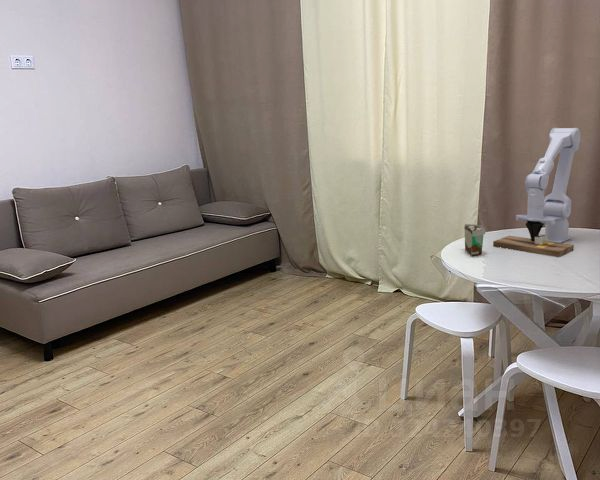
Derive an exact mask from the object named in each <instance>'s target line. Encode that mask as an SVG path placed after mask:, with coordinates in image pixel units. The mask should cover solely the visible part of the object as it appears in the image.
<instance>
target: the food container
mask: <svg viewBox="0 0 600 480" xmlns="http://www.w3.org/2000/svg"><path fill="white" fill-rule="evenodd" d="M463 227H464V251H465V252H466V253H467V254H468V255H469V256H470V257H479V256H481V255H482V253H483V252H482V251H483V242H484V235H486V229H485V227H484V226H483V225H479V224H473V223H472V224H471V223H469V224H468V223H467V224H464V226H463Z"/></svg>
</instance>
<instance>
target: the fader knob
mask: <svg viewBox="0 0 600 480" xmlns="http://www.w3.org/2000/svg"><path fill="white" fill-rule="evenodd" d="M546 243H548V235H545V234H540V233H539V235H538V236H535V244H539V245H544V244H546Z"/></svg>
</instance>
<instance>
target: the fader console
mask: <svg viewBox="0 0 600 480" xmlns="http://www.w3.org/2000/svg"><path fill="white" fill-rule="evenodd" d="M492 247H493V248H500V247H501V248H502V249H506V248H508V249H507V250H512V249H513V250H514V251H518V250H519V252H524V251H525V252H526V253H532V254H538V255H542V256H543V255H544V256H550V257H555V258H559V257H562V256H564V255H566V254H568V253H570V252H573V251H574V247H575V246H574V244H571V243H564V242H561V243H557V242H550V241H548V243H546V244H544V245H539V244H535V242H534V241H531V237H530V238H529V237H524V236H523V237H521V236H515V235H507V236H504V237H501V238H498V239H496V240H494V241H493V243H492ZM501 248H500V249H501ZM525 252H524V253H525Z"/></svg>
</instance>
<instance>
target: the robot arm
mask: <svg viewBox="0 0 600 480" xmlns="http://www.w3.org/2000/svg"><path fill="white" fill-rule="evenodd" d="M549 132H550V133H549V134H548V135H549V136H548V140H549V144H548V147H547V149H546V151H545V154H544V157H541V158H539V160H538V161H537V163H536V165H535V167H534V168H533V171H532V173H530V174H527V176H526V177H525V181H524V184H525V185H524V186H525V188H526V189H525V190H526V191H525V192H526V194H527V208H526V209H527V210H526V211H527V213H526V214H516V215H515V221H517V222H518V221H522V222H525V227H526V228H527V230H528V233H529V235H530V236H529V237H530V239H531V241H534V242H535V236H538V235H540V233H541V230H542V229H543V227H545V228H544V235H548V241H550V242H557V243H564V242H567V241H568V240H570V239H571V237H569V229H570V228H569V226H570V225H569V220H568V218H569V217H570V215H571V213H572V199H571V198H570V197H569V196H568V195H567V194H566V193H567V189H568V185H569V179H570V175H571V169H572V166H573V165H572V164H573V160H574V156H575V153H576V152H577V151H578V150H579V147H580V143H581V139H582V137H581V130H580V129H579V128H578V127H570V128H569V127H568V128H566V127H563V128H562V127H561V128H560V127H553V128H551V130H550V131H549ZM558 155H559V156H558ZM557 156H558V162H557V167H556V170H555V171H556V172H555V176H554V181H553V184H552V185H553V187H552V190H551V192H550V193H549V194H547V195H546V196H545V191H546V189H547V187H548V184H549V179H550V174H551V173H552V170H553V168H554V167H555V163H554V161H555V159H556V158H557ZM544 225H545V226H544Z"/></svg>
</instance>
